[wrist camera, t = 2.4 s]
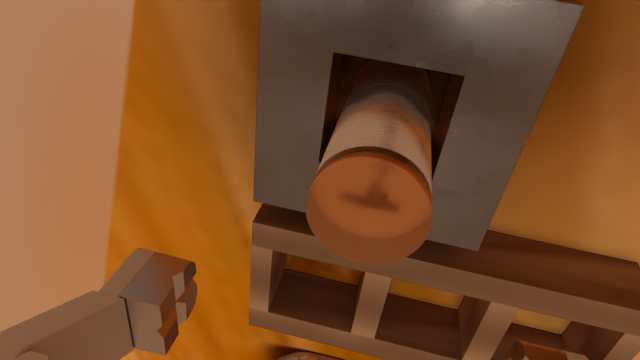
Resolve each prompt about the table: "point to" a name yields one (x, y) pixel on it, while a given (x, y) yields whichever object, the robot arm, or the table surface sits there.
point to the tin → (305, 356)
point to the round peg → (377, 168)
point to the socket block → (418, 51)
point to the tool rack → (449, 275)
